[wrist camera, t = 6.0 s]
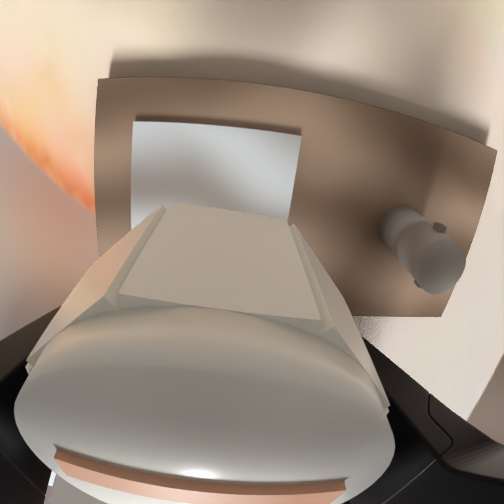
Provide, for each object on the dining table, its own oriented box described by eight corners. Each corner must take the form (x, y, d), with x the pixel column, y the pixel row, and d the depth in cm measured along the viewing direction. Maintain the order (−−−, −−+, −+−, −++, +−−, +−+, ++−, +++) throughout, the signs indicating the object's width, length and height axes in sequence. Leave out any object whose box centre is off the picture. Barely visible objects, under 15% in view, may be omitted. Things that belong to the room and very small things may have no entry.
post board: (433, 306, 24) (472, 360, 18) (110, 282, 22) (74, 346, 15) (484, 146, 18) (551, 171, 12) (108, 79, 16) (46, 75, 9)
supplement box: (68, 430, 32) (43, 508, 20) (111, 432, 31) (90, 521, 20) (97, 457, 35) (81, 529, 24) (140, 460, 34) (127, 539, 23)
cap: (369, 233, 7) (481, 382, 3) (299, 408, 10) (318, 531, 6) (87, 192, 7) (-55, 315, 2) (107, 384, 9) (70, 504, 5)
